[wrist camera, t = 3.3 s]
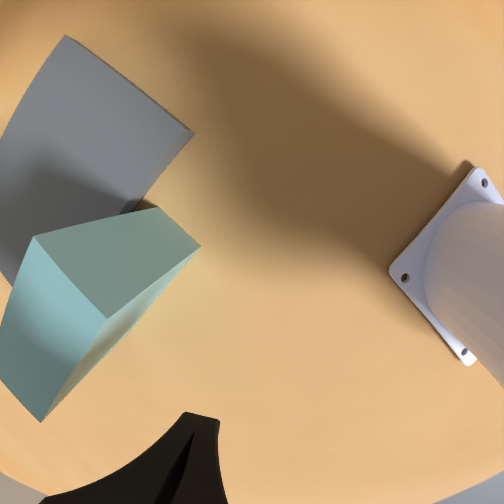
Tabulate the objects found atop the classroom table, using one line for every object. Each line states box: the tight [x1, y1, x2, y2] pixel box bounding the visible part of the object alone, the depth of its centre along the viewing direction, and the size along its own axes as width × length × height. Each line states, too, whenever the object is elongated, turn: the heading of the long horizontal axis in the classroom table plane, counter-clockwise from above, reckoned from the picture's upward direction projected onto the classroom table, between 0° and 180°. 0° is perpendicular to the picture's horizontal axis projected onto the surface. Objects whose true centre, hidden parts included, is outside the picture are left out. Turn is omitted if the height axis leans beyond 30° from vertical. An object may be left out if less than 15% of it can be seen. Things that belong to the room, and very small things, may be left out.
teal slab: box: [0, 207, 201, 423], centre depth 12 cm, size 3×7×9 cm, turn 137°
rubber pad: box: [0, 35, 194, 287], centre depth 15 cm, size 11×15×2 cm
